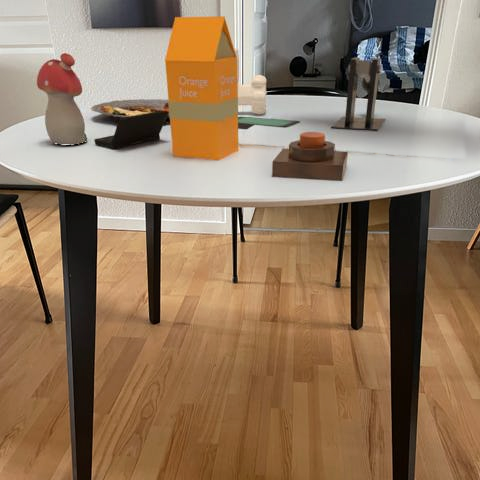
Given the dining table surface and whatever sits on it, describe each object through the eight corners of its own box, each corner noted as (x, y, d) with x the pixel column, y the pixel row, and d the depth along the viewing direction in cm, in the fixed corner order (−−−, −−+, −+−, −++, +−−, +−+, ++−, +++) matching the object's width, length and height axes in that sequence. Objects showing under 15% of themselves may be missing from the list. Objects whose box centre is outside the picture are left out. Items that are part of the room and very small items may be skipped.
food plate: (220, 115, 117) (219, 99, 116) (143, 131, 103) (141, 112, 101) (151, 105, 132) (150, 91, 130) (75, 118, 117) (72, 101, 115)
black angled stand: (130, 125, 99) (145, 84, 91) (156, 150, 99) (174, 111, 91) (88, 144, 92) (101, 102, 84) (117, 172, 92) (132, 132, 84)
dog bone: (266, 110, 123) (267, 73, 118) (265, 116, 115) (265, 77, 111) (206, 110, 124) (204, 74, 119) (201, 116, 116) (199, 78, 112)
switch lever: (361, 93, 108) (364, 75, 107) (378, 93, 107) (381, 75, 106) (352, 77, 95) (355, 56, 94) (372, 77, 94) (375, 56, 93)
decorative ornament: (97, 144, 93) (82, 52, 85) (63, 149, 89) (45, 55, 81) (74, 136, 99) (59, 50, 91) (42, 141, 95) (23, 52, 87)
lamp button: (325, 144, 74) (326, 132, 73) (322, 150, 71) (323, 137, 70) (301, 143, 74) (302, 131, 73) (297, 149, 71) (298, 136, 70)
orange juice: (195, 146, 90) (187, 17, 79) (239, 150, 87) (237, 16, 76) (172, 156, 84) (160, 17, 73) (218, 161, 81) (213, 16, 70)
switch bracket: (342, 122, 107) (347, 56, 101) (384, 125, 104) (393, 56, 98) (330, 133, 98) (335, 60, 91) (376, 136, 95) (386, 61, 88)
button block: (346, 167, 76) (349, 139, 74) (341, 181, 70) (344, 152, 68) (282, 163, 79) (283, 137, 77) (272, 177, 72) (272, 148, 70)
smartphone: (239, 115, 110) (301, 120, 104) (239, 121, 111) (301, 126, 104) (221, 120, 105) (285, 126, 98) (222, 127, 105) (285, 132, 99)
